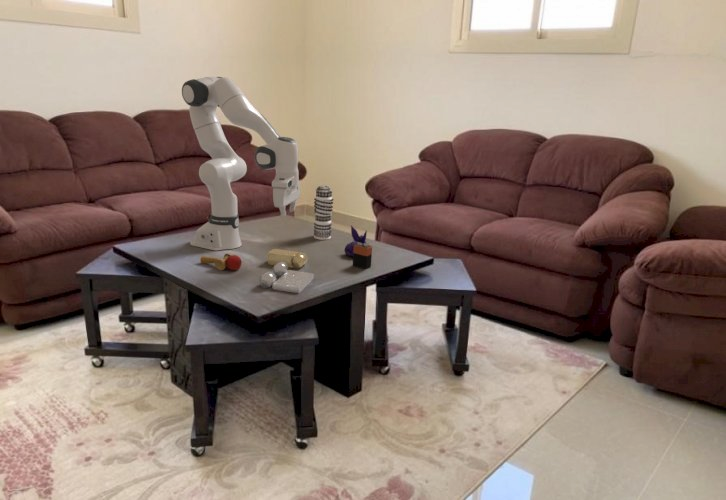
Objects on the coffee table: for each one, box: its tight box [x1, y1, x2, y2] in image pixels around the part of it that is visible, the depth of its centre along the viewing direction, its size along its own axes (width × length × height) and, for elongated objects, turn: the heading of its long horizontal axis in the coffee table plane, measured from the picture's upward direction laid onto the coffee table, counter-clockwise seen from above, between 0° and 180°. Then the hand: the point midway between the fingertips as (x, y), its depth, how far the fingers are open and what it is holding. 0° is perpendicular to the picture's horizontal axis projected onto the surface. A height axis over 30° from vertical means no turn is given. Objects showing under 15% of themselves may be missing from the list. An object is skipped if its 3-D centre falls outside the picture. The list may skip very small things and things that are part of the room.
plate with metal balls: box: [258, 262, 315, 294], centre depth 195 cm, size 16×16×5 cm
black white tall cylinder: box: [313, 185, 334, 241], centre depth 251 cm, size 9×9×25 cm
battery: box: [352, 242, 373, 270], centre depth 217 cm, size 4×7×10 cm, turn 57°
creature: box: [343, 225, 368, 257], centre depth 232 cm, size 9×18×12 cm, turn 154°
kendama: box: [200, 252, 242, 271], centre depth 207 cm, size 8×6×18 cm
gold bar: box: [267, 248, 308, 269], centre depth 214 cm, size 6×15×5 cm, turn 76°
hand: (288, 213), depth 209 cm, fingers open, 8 cm apart
